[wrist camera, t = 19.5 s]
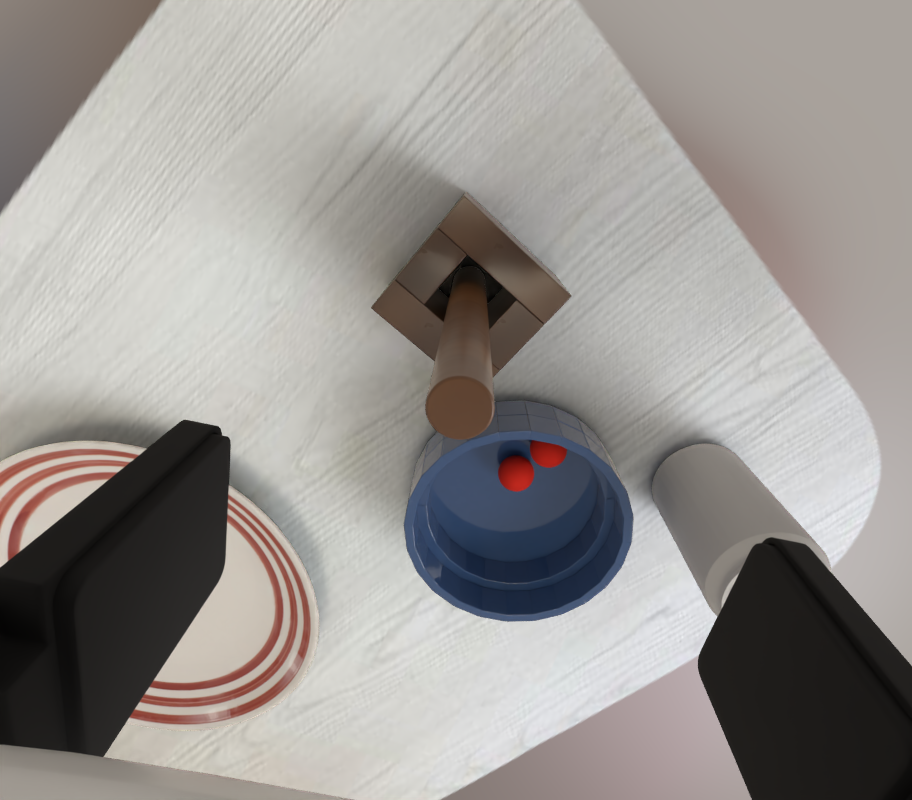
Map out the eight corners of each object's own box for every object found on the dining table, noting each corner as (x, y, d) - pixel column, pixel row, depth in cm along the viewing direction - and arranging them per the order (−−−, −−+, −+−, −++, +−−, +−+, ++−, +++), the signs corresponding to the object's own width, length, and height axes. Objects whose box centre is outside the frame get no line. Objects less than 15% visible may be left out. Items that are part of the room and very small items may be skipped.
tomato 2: (573, 463, 37) (575, 437, 35) (546, 481, 36) (547, 455, 34) (549, 444, 38) (549, 418, 37) (522, 460, 37) (522, 434, 36)
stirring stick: (492, 280, 34) (509, 407, 16) (470, 304, 35) (463, 453, 16) (467, 258, 34) (456, 362, 15) (446, 283, 34) (410, 411, 16)
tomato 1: (537, 468, 35) (532, 500, 36) (535, 451, 38) (530, 481, 39) (500, 464, 36) (495, 496, 36) (500, 447, 38) (496, 477, 39)
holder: (556, 276, 34) (572, 296, 28) (475, 361, 36) (475, 395, 31) (466, 191, 32) (464, 195, 27) (387, 286, 35) (370, 308, 29)
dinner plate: (196, 746, 51) (177, 783, 48) (-80, 569, 45) (-122, 598, 41) (401, 588, 44) (395, 620, 40) (104, 343, 37) (70, 358, 34)
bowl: (655, 482, 39) (681, 528, 34) (516, 598, 44) (521, 654, 38) (508, 353, 36) (513, 383, 31) (374, 493, 40) (359, 539, 35)
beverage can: (758, 483, 39) (870, 607, 28) (680, 532, 41) (755, 667, 30) (710, 420, 37) (808, 526, 26) (630, 474, 39) (690, 594, 28)
